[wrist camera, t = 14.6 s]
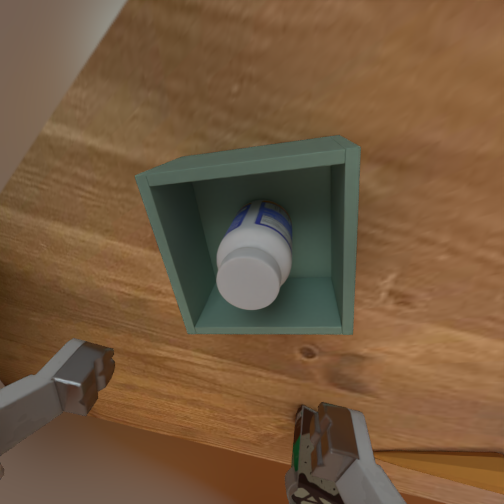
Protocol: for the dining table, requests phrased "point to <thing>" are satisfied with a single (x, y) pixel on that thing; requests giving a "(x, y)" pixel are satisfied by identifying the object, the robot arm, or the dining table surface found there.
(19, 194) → the dining table surface
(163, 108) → the dining table surface
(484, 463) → the carrot
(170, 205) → the tub
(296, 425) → the food container
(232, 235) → the pill bottle
